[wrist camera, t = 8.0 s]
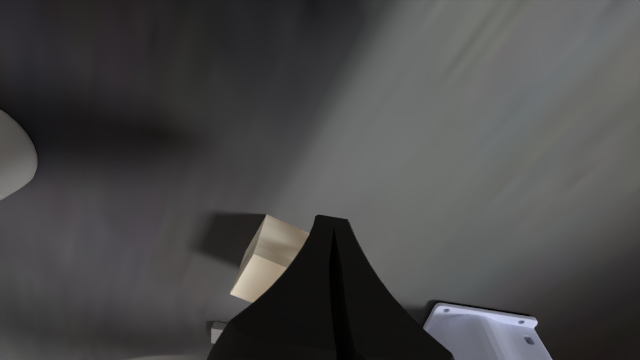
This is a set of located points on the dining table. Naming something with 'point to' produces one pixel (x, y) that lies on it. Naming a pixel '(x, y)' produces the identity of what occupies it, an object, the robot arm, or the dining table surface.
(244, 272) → the letter block
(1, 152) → the cup
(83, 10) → the dining table surface
